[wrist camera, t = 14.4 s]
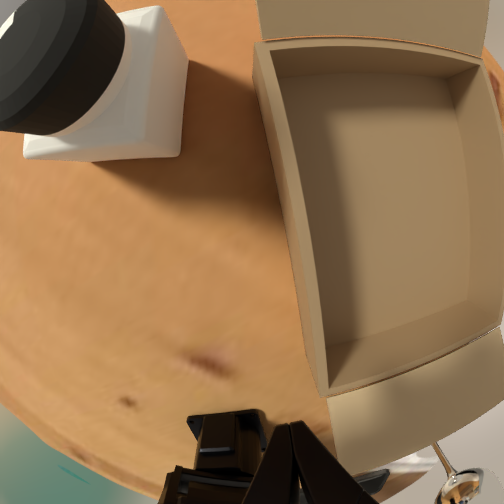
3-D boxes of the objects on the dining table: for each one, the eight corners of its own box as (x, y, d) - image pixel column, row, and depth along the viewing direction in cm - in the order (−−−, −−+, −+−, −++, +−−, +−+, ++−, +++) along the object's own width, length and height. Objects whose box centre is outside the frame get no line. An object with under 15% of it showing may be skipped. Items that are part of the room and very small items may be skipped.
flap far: (499, 327, 15) (496, 328, 15) (326, 398, 15) (325, 397, 16) (511, 393, 12) (508, 393, 12) (341, 478, 13) (340, 476, 13)
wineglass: (458, 413, 24) (526, 510, 5) (417, 451, 25) (467, 553, 6) (434, 402, 23) (514, 524, 3) (387, 446, 24) (440, 571, 5)
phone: (283, 495, 25) (391, 471, 25) (282, 488, 26) (389, 465, 26) (283, 512, 27) (378, 492, 27) (283, 507, 28) (377, 488, 28)
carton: (467, 301, 20) (500, 324, 15) (306, 354, 20) (319, 397, 15) (444, 74, 15) (482, 59, 10) (252, 77, 15) (254, 42, 11)
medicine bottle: (190, 57, 15) (130, -62, 3) (181, 157, 17) (73, 122, 5) (97, 70, 15) (-10, 6, 3) (86, 162, 16) (-52, 162, 5)
